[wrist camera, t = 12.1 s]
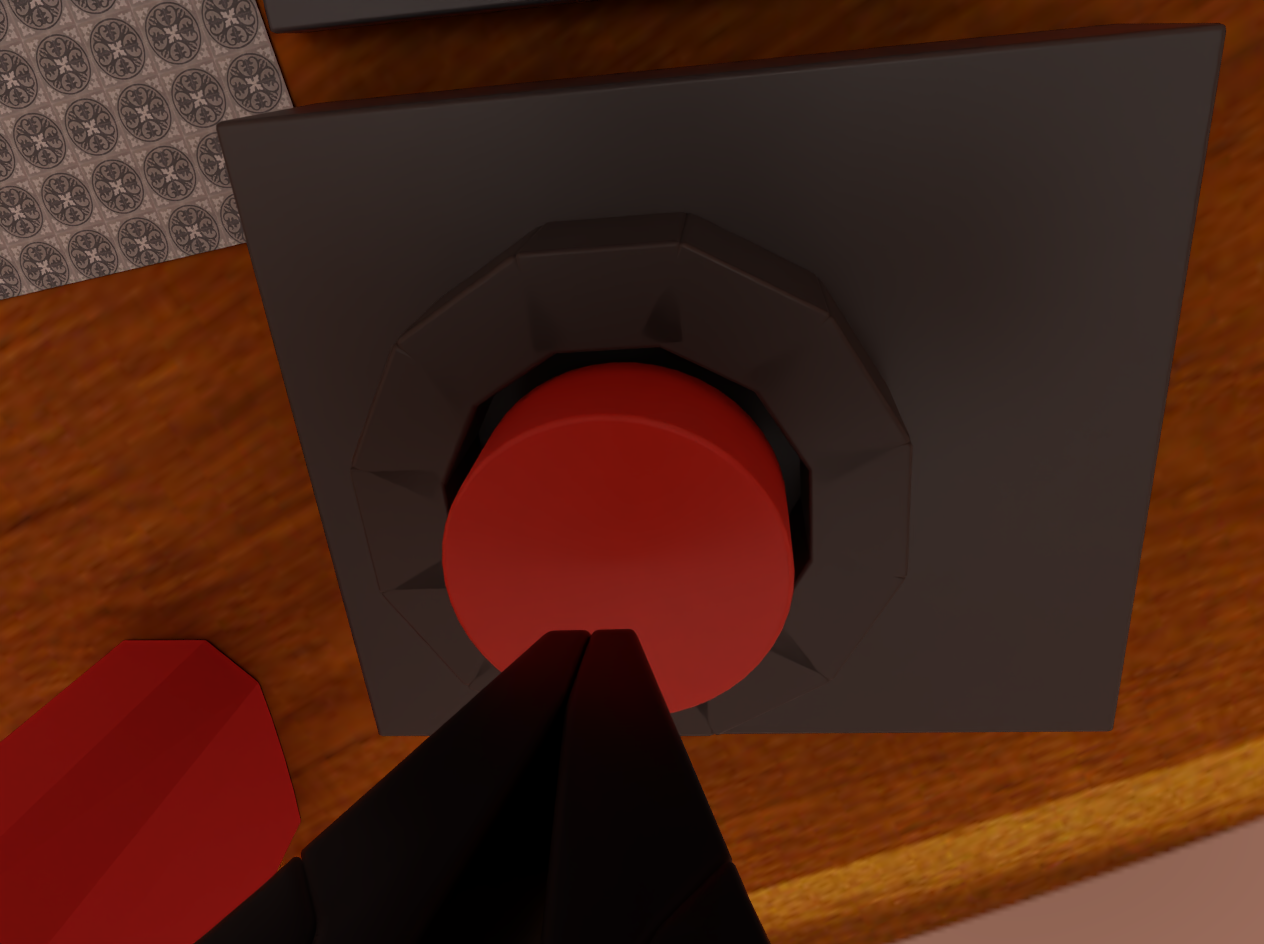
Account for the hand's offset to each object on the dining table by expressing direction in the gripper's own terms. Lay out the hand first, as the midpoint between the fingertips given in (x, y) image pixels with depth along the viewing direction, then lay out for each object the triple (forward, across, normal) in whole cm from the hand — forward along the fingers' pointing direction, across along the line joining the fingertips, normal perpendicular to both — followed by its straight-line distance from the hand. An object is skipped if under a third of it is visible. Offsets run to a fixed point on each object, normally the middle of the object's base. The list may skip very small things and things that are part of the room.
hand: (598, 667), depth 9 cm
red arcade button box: (+8, -1, 0) cm, 8 cm away
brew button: (+3, 0, 0) cm, 3 cm away
